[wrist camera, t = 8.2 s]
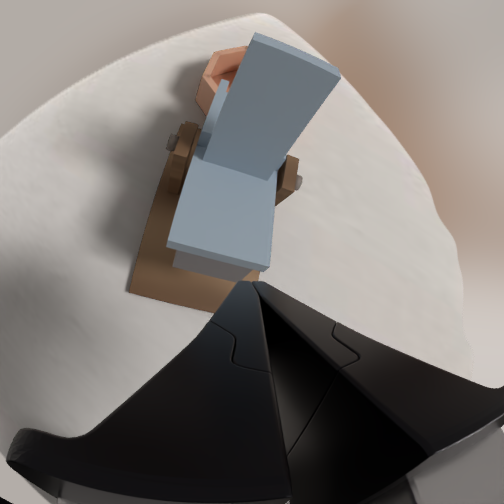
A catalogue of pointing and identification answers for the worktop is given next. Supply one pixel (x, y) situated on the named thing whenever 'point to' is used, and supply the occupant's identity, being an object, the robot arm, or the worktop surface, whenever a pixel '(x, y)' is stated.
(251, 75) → the catapult lever
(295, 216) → the worktop surface
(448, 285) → the worktop surface
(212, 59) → the orange octagonal bowl
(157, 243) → the stand
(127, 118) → the worktop surface
